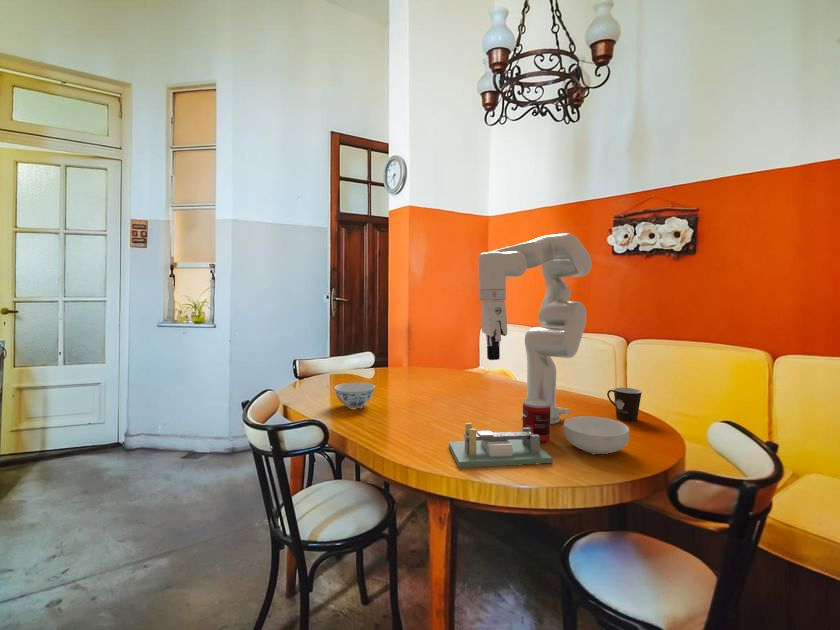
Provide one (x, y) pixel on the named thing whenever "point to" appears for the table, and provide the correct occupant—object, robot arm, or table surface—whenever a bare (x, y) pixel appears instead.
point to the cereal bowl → (596, 434)
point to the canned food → (537, 417)
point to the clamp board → (497, 461)
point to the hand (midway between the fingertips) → (493, 359)
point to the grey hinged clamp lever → (500, 435)
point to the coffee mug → (626, 403)
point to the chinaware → (354, 394)
